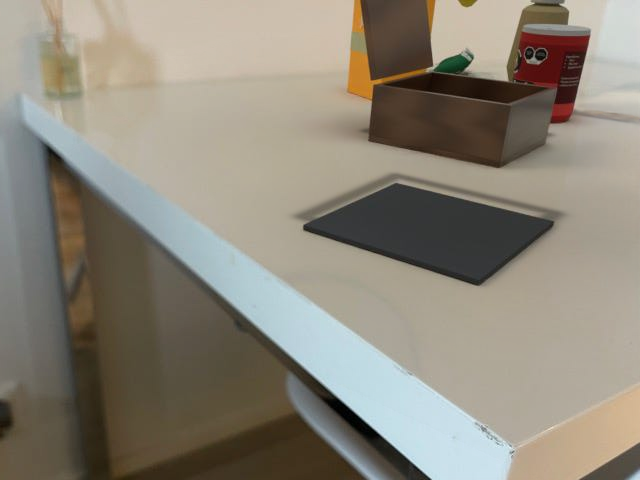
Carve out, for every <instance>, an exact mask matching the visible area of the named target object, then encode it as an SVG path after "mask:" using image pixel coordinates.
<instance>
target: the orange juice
mask: <svg viewBox="0 0 640 480" xmlns="http://www.w3.org/2000/svg"><path fill="white" fill-rule="evenodd" d="M435 7H436V0H427V9H428V19H429V28H430V38H431V39H432V31H433V30H432V29H433V23H434V16H435ZM350 36H351V37H350V48H349V50H350V51H349V52H350V53H349V65H348V78H347V90H346V91H347V92H348V93H350V94H353V95H356V96H359V97H362V98H365V99H367V100H370V101H372V94H373V85H375V84H379V83H383V82H387V81H391V80H396V79H400V78H404V77H408V76H412V75H416V74H421V73H425V72H427V71H428V70H427V69H428V68H425V69H421V70H417V71H412V72H408V73H404V74H400V75H395V76H391V77H387V78H382V79H378V80H373V81H371V79H370V71H369V64H368V56H367V49H366V41H365V34H364V26H363V18H362V11H361V3H360V0H354V2H353V14H352V28H351V35H350Z"/></svg>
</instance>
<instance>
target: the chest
mask: <svg viewBox="0 0 640 480" xmlns="http://www.w3.org/2000/svg"><path fill="white" fill-rule="evenodd" d="M433 71H434V70H429V71H426V72H425V73H421V74H416V75H412V76H408V77H404V78H400V79H396V80H391V81H387V82H383V83H379V84H375V85H373V94H372V100H371V105H370V106H371V108H370V118H369V126H368V138H367V141H368V142H373V143H378V144H382V145H386V146H387V145H388V146H392V147H398V148H404V149H407V150H412V151H415V152H422V153H427V154H431V155H435V156H440V157H445V158H450V159H455V160H460V161H465V162H470V163H475V164H479V165H484V166H489V167H492V168H493V167H494V168H498V169H500V168H502V167H503V166H505V165H507V164H509V163H511V162H513V161H515V160H516V159H518V158H520V157H522V156H524V155H526V154H528V153H529V152H532V151H534V150H536V149H537V148H539V147H541V146H543V145H545V144H546V143H547V138H548V134H549V130H550V129H549V128H550V125H551V122H550V120H551V116H552V111H553V107H554V102H555V97H556V93H557V88H556V87H549V86H541V85H533V84H526V83H518V82H510V81H508V80H501V79H496V78H495V79H494V78H487V77H478V76H473V75H465V74H464V75H463V74H461V75H457V74H449V73H441V72H433Z"/></svg>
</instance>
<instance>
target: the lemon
mask: <svg viewBox="0 0 640 480" xmlns="http://www.w3.org/2000/svg"><path fill="white" fill-rule="evenodd" d="M457 1H458V3H459V4H460V6H461V7H464V8H470V7H472V6H474V4H476V2H478V0H457Z"/></svg>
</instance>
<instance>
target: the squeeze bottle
mask: <svg viewBox="0 0 640 480" xmlns="http://www.w3.org/2000/svg"><path fill="white" fill-rule="evenodd" d="M565 2H566V0H530V3H532V4H529V5H527V6H525V7H524V8H522V10H521V13H520V17H519V20H518V24H517V28H516V31H515V35H514V38H513V42H512V45H511V49H510V52H509V56H508V59H507V63H506V74H507V81H510V82H512V80H513V75H514V69H515V64H516V58H517V53H518V47H519V42H520V38H521V32H522V29H523V26H524V25H527V24H559V25H569V18H570V10H569V9H568V8H567V7H565V6H564V5H562V4H565Z"/></svg>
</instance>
